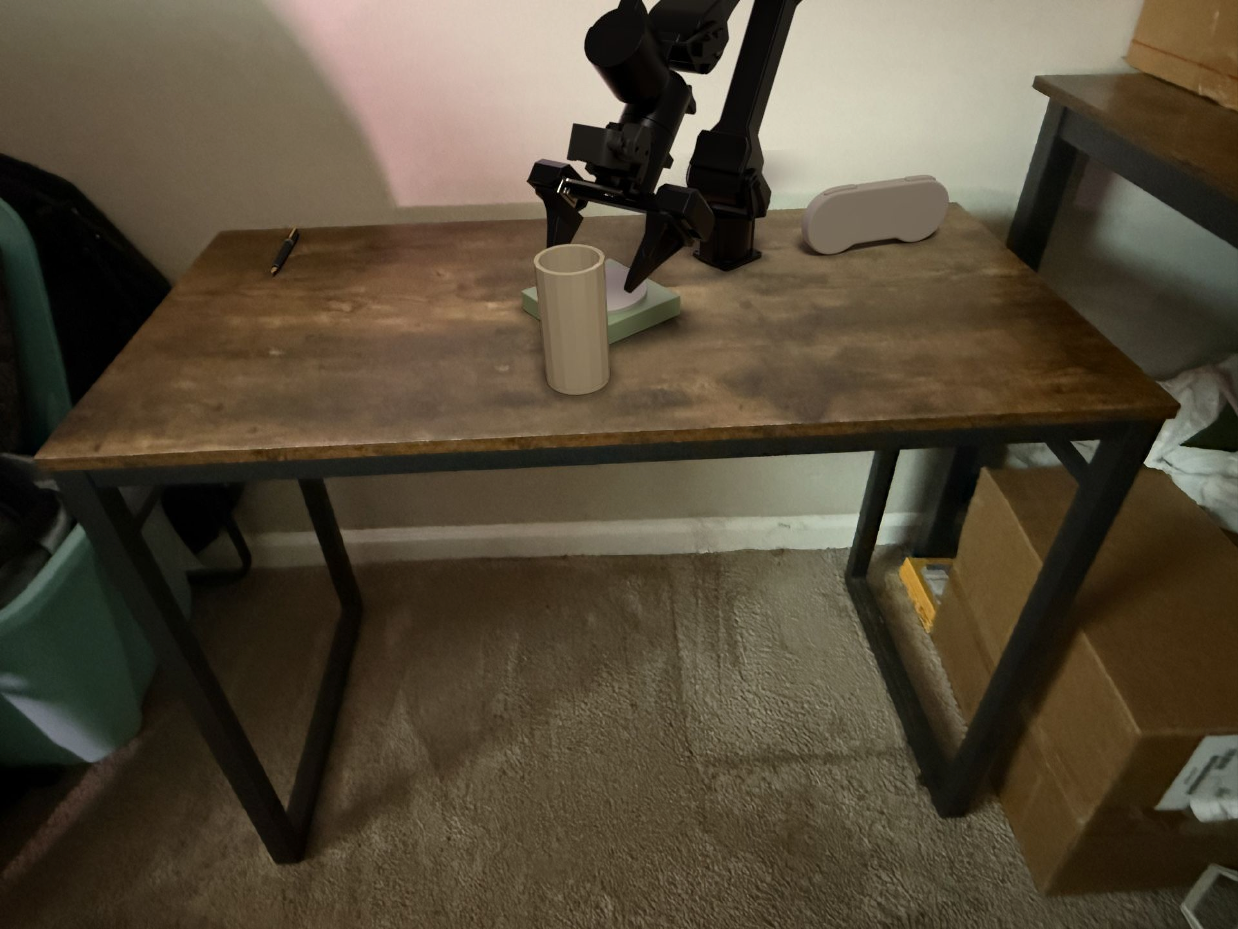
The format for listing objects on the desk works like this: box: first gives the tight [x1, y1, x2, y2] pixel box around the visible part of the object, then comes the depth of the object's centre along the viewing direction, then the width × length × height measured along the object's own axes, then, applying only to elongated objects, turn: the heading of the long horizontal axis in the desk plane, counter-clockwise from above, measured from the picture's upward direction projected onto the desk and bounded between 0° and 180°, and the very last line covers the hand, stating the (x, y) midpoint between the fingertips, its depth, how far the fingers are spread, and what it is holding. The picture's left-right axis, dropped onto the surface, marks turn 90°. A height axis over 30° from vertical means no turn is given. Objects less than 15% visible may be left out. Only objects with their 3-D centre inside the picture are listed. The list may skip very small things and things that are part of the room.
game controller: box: [800, 174, 950, 255], centre depth 102 cm, size 20×2×8 cm, turn 105°
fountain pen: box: [270, 226, 299, 274], centre depth 108 cm, size 14×1×2 cm, turn 5°
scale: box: [520, 258, 681, 345], centre depth 92 cm, size 13×13×3 cm
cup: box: [533, 243, 611, 396], centre depth 79 cm, size 6×6×13 cm
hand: (587, 280), depth 78 cm, fingers open, 9 cm apart
